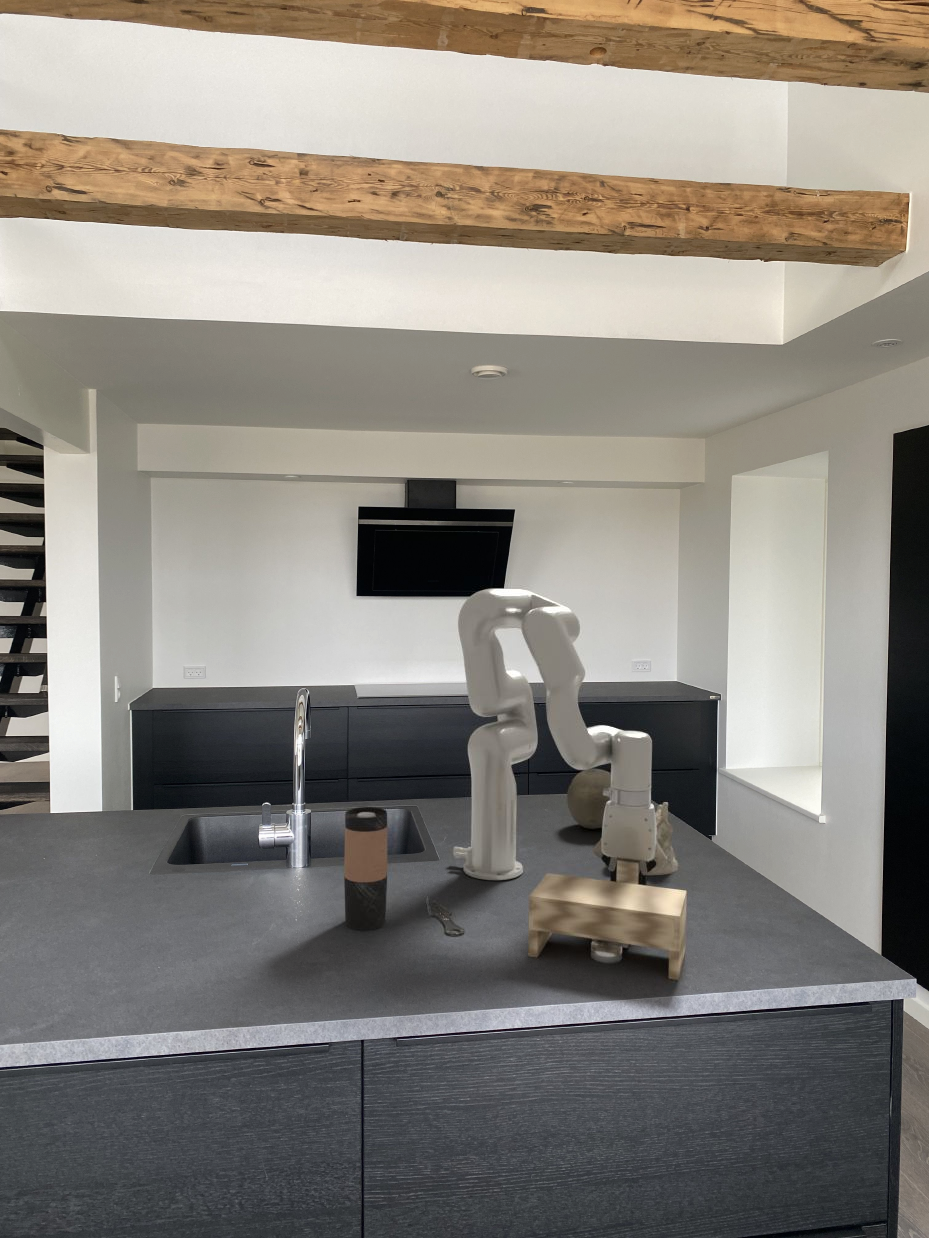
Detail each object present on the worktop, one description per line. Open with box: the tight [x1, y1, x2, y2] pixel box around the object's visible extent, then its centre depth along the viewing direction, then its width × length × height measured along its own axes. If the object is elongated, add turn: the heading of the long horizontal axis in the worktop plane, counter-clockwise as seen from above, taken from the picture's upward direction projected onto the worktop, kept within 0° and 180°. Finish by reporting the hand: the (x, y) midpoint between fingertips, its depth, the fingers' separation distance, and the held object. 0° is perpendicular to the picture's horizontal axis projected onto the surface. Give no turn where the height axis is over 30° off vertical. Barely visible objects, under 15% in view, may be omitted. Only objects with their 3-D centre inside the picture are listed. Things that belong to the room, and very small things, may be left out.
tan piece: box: [591, 858, 640, 949], centre depth 154 cm, size 6×24×8 cm, turn 161°
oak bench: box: [527, 872, 688, 981], centre depth 142 cm, size 24×12×10 cm, turn 71°
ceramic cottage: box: [606, 801, 679, 876], centre depth 189 cm, size 16×16×15 cm
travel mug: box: [343, 806, 388, 931], centre depth 153 cm, size 8×8×20 cm
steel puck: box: [590, 939, 623, 964], centre depth 141 cm, size 5×5×2 cm
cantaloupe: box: [566, 768, 611, 830], centre depth 215 cm, size 14×14×15 cm
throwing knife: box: [425, 895, 466, 936], centre depth 158 cm, size 4×20×1 cm, turn 18°
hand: (628, 890), depth 164 cm, fingers closed on tan piece, 4 cm apart
